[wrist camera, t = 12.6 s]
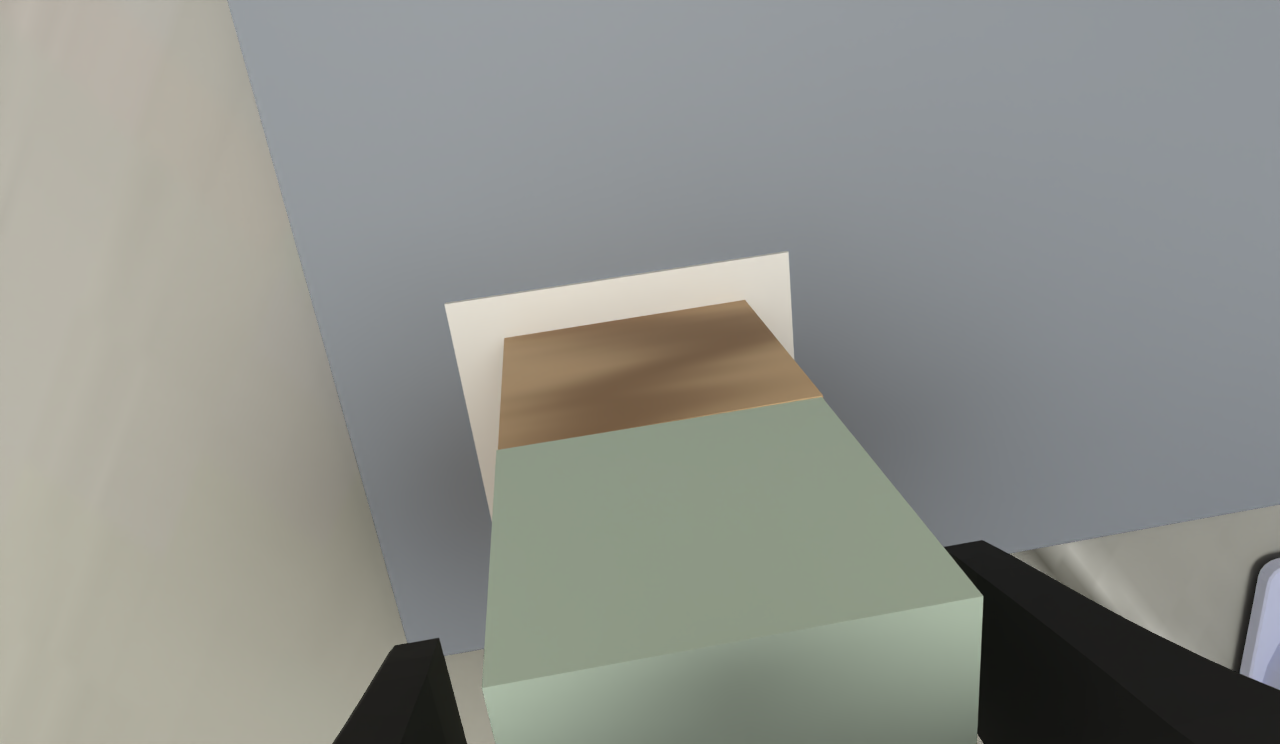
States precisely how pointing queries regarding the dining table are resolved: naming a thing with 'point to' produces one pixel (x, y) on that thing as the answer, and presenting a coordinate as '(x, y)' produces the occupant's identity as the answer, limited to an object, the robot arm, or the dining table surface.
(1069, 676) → the robot arm
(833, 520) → the green block
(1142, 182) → the grey mat
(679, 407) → the oak block
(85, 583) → the dining table surface
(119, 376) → the dining table surface
